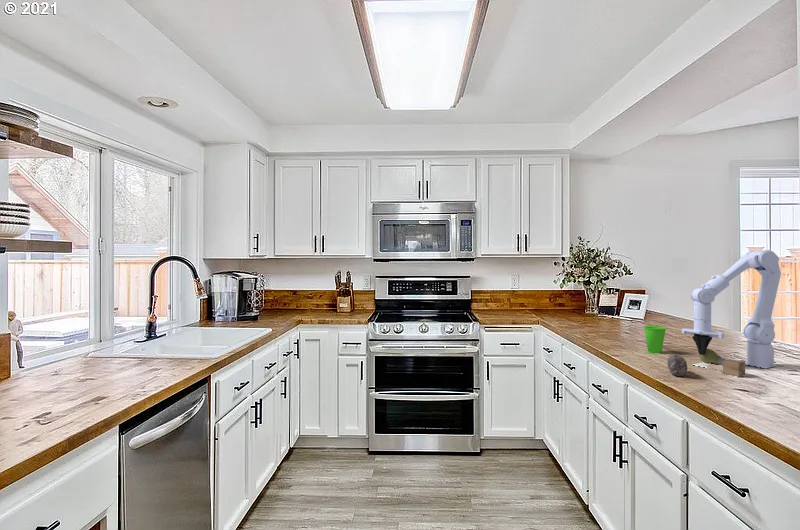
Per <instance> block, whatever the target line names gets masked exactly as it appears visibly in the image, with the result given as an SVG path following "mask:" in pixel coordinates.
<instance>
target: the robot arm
mask: <svg viewBox="0 0 800 530" xmlns="http://www.w3.org/2000/svg"><path fill="white" fill-rule="evenodd" d="M779 260H780V257H779V256H778V255H777V254H776V253H775V252H774V251H773V250H770V249H765V250H764V249H763V250H750V251H748V252H746V254H744V255H742V256H741V257H740V258H739V260H737V261H735V263H734V264H733V265H732V266H730V267H729V268H728V269H727V270H725V272H724V273H722V274H716V275H712V276H711V277H710V280H708V281H706V283H702V284H700V287H698V288H695V289H694V290H693V291H692V293H691V294H690V299H691V300H692V301H693V328H688V327H687V328H686V327H685V328H681V334H683V335H684V334H685V335H686V334H687V335H692V339H693V342H694V343H695V345H696V348H697V350H698V351H697V352H698V355H699V354H700V355H705V353H706V350H707V349H708V347H709V344H710V342H711V341H712V339H713V338H718V339H725V333H724V332H721V331H720V332H719V331H715V330H714V331H713V330H712V303H713V302H714V301H715V298H716V296H717V295H718V294H720V293H721V292H723V291H724V290H725V289H726V288H728V287H729V285H730V281H732V280H733V279H735V278H736V277H738V276H739V275H741V274H742V273H744V272H745V271H746V270H748V269H754V270H756V271H757V272H758V273H759V274H760V275H761V281H760V284H759V285H760V286H759V288H758V293H757V296H756V301H755V302H756V303H755V307H754V311H753V315H752V316H751V317H750V318H749V319H748V320H747V323H746V325H745V326H744V327H743V330H742V333H743V336H744V337H745V338H746V341H747V342H746V346H747V347H746V361H745V366H748V365H750V367H754V366H756V368H760V367H761V369H768V368H773V367H776V366H778V365H777V364H776V363H775V348H774V346H773V345H772V342H773V341H774V340H775V338H776V337H775V336H776V332H775V324H774V322H773V321H772V315H773V311H774V306H775V302H776V297H777V293H778V290H779V284H780V282H781V281H780V280H781V276H782V271H781V267H780V265H779Z"/></svg>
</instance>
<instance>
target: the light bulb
mask: <svg viewBox="0 0 800 530" xmlns="http://www.w3.org/2000/svg"><path fill="white" fill-rule="evenodd" d="M698 355H699V357H698V358H699V359H700V360H701V361H702V362H705V363H714V364H719V365H723V360H727V359H725V358H723V357H722V356H720V355H719V354H718V353H716V352H715V350H714V349H711V348H707V350H706V353H705V355H700V354H699V353H698Z"/></svg>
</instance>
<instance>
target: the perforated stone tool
mask: <svg viewBox="0 0 800 530" xmlns="http://www.w3.org/2000/svg"><path fill="white" fill-rule="evenodd" d="M666 362H667V368H668V370H669V372H670V373H671V374H672V375H673V376H677V377H684V376H686V375H687V373H688V368H689V367H688V364H687V363H688V362H687V360H686V359H685V358H684V357H683V356H681V355H680V354H673V353H672V354H670V355H669V356H668V359H667V361H666Z"/></svg>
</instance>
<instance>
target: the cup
mask: <svg viewBox="0 0 800 530" xmlns="http://www.w3.org/2000/svg"><path fill="white" fill-rule="evenodd" d="M643 329H644V335H645V341H646V347H647V351H648V353H649V352H650V354H655V353H660V354H662V351H663V347H664V342H665V336H666V330H667V327H665V326H657V325H644V326H643Z"/></svg>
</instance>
